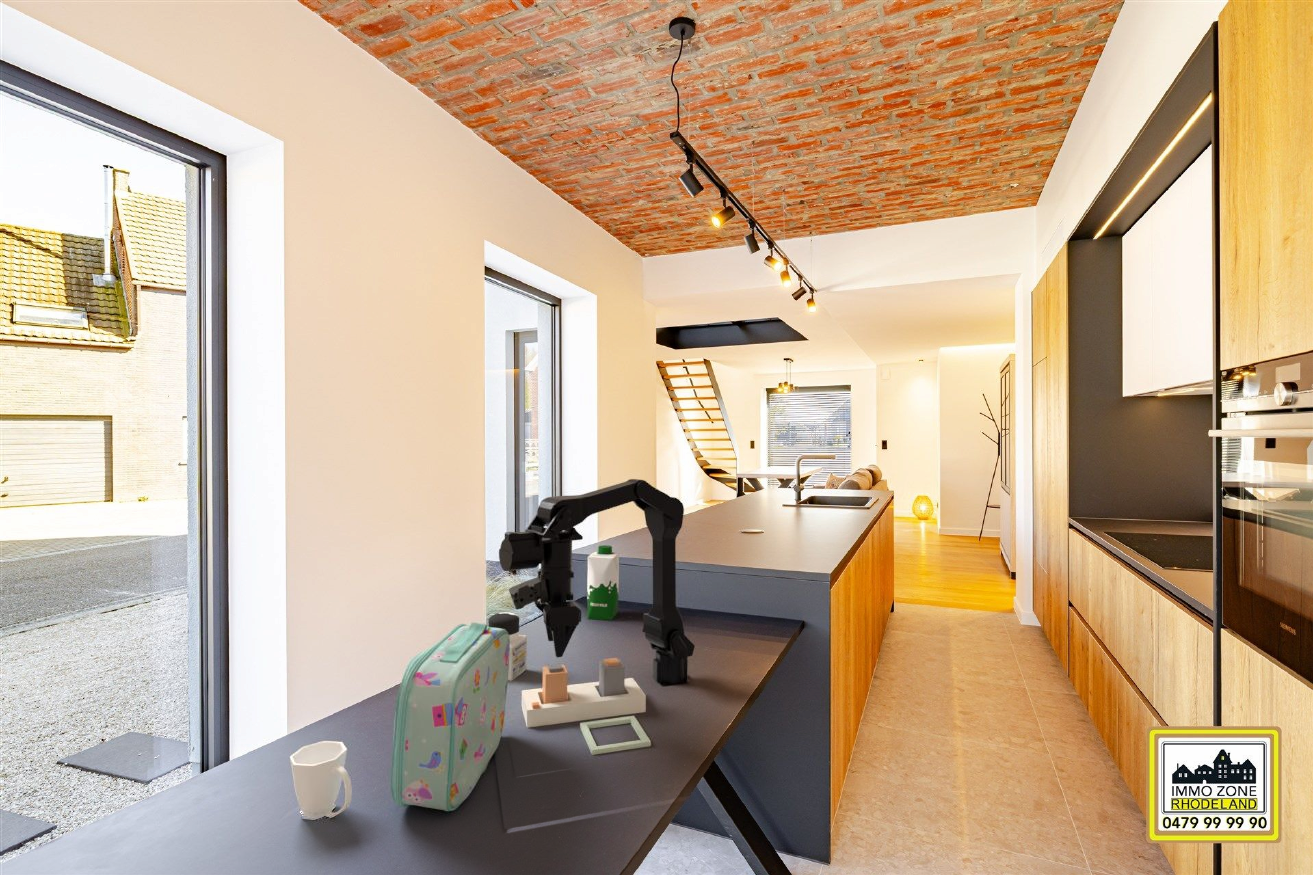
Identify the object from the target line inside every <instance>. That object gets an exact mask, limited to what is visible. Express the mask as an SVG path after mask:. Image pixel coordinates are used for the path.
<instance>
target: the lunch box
mask: <svg viewBox="0 0 1313 875" xmlns="http://www.w3.org/2000/svg"><path fill="white" fill-rule="evenodd" d="M470 623H471V624H469V625H467V624H465V623H460V624H458V625H457V626H455V627H454V628H452V629H451V630H450V631H449V632H448V633H447V634H446V635H445V636H444V637H443V638H441V639H440V640H439V641H438V642H437V643H434V645H433V646H431V647H430V648H428V649H425V650H424V651H423V652H420V653H419V654H417V655H415V656H414V657H413V658H411V660H410V661H409V662H408V664H407V667H406V669H405V671H404V673H403V676H402V679H401V682H400V685H399V689H398V691H397V696H396V702H395V713H394V717H393V718H394V720H393V739H392V754H391V755H392V756H391V766H390V767H391V768H390V790H391V793H390V794H391V797H392V800H393V801H394V803H396V804H397V806H398V807H399V808H402V807H403V808H404V807H407V806H409V805H410V806H417V807H422V808H428V809H429V808H430V809H436V810H442V811H446V812H452V811H455V810H456V809H458V808H459V806H461V804H463V802H464V801H465V800H466V799H467V798H468V797H469V796H470V794H471V793H472V791H473V790H474V788H475V786H476V785H477V783H478V781H479V780H480V777H481V776H482V774H484V773H485V772H486V769H487V768H488V765H489V762H490V760H491V758H492V757H493V755H494V754H495V752H496V751H497V749H498V748H499V745H500V741H501V737H502V733H503V730H504V724H505V717H506V715H505V714H506V699H507V693H508V692H507V691H508V682H509V680H508V670H509V652H510V639H509V634H508V632H507V631H506V630H505V629H500V628H492V627H488V623H483V622H470Z"/></svg>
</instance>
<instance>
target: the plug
mask: <svg viewBox="0 0 1313 875" xmlns="http://www.w3.org/2000/svg"><path fill="white" fill-rule="evenodd" d="M568 674H569V672H568V671H567V669H566V666H565V664H561V663H552V664H551V663H550V664H547V666H542V687H541V688H542V704H549V703H557V702H565V701H567V685H568Z"/></svg>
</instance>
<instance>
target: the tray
mask: <svg viewBox="0 0 1313 875" xmlns="http://www.w3.org/2000/svg"><path fill="white" fill-rule="evenodd" d="M625 724H631V727H632V728H633V730H634V731H635V733H636V735H637V736H638V737H639V740H632V741H631V740H630V741H625V742H619V743H610V744H603V745H598V746H597V744H596V741H595V739H594V737H593V735H592V733H591V731H590V729H595V728H596V729H597V728H603V727H610V726H611V727H612V726H618V725H625ZM579 728H580V730H581V731H580V732H581V733H582V735H583V737H584V739H585V742H586V744H587V746H588V749H589V751H590V754H591V755H592V756H595V755H599V754H606V753H612V752H613V753H614V752H620V751H621V752H622V751H626V750H633V749H641V748H647V747H651V745H652V741H651V739H650V737H648V735H647V733H646V731H645V730H644V728H643V727H642V725H641V724H640V723H639V721H638V720H637V718H636V717H635V715H630V716H629V715H628V716H621V717H615V718H607V719H600V720H599V719H598V720H590V721H584V722H579Z"/></svg>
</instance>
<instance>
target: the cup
mask: <svg viewBox="0 0 1313 875" xmlns="http://www.w3.org/2000/svg"><path fill="white" fill-rule="evenodd" d="M347 751H348V748H347V747H346V745H344V742H343V741H331V740H330V741H329V740H322V741H318V742H315V743H312V744H308V745H304V746H302V747H300V748H299V749H298V750H297V751H295V752H294V753H293V754H291V755H290V756H289V761H290V767H291V772H292V778H293V779H292V780H293V786H294V792H295V795H296V798H297V803H298V805H299V808H300V811H299V814H300V813H301V812H302V813H301V814H304V815H302V816H307V817H306V818H318V817H321V816H327V817H329V818H328V819H331V818H334V817H335V816H337V815H340V813H342V812H344V811H345V810H347V809H348V807H349V806H350V805H351V802H352V798H353V792H352V790H353V788H352V781H351V777H350V775H349V773H348V770H346V768H345V763H346V759H347V753H348V752H347ZM342 782H343V785H344V794H345V796H344V797H345V800H344V804H343V806H341V808H340V809H339V810H337V811H335V812H331V811H332V810H333V809H334V808H335V807H337V805H336V804H335V802H336V801H337V800H338V796H339V793H340V789H341V786H342ZM309 812H311V813H309ZM304 818H305V817H304Z"/></svg>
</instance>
